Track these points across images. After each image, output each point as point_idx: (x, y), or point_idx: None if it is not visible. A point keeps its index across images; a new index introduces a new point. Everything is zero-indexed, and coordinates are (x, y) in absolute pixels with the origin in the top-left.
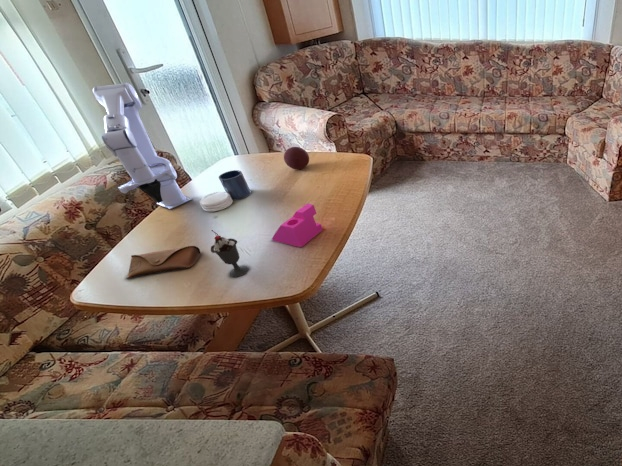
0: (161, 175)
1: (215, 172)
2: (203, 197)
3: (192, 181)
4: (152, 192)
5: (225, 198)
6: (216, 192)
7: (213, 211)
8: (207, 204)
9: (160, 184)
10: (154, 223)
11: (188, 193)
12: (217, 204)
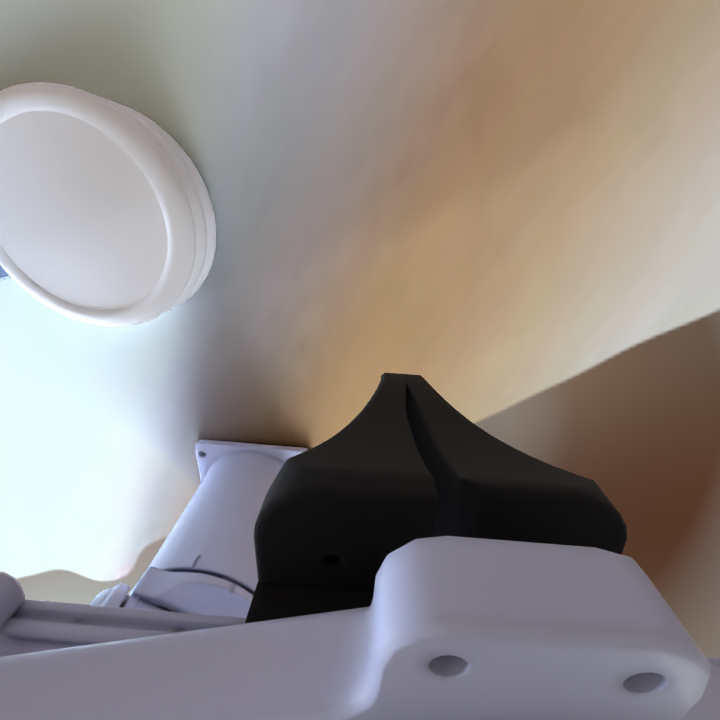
0: (61, 658)
1: (8, 559)
2: (131, 314)
3: (116, 574)
4: (460, 439)
5: (4, 93)
6: (33, 290)
7: (187, 157)
8: (159, 167)
9: (295, 457)
10: None
11: (177, 505)
12: (106, 103)
